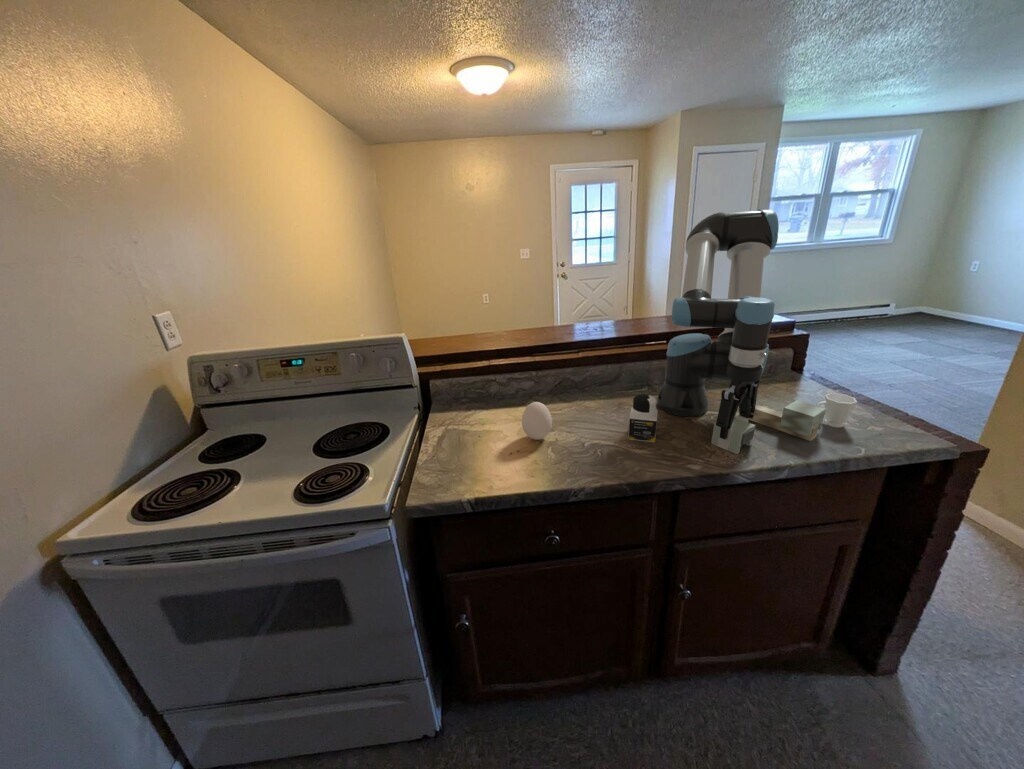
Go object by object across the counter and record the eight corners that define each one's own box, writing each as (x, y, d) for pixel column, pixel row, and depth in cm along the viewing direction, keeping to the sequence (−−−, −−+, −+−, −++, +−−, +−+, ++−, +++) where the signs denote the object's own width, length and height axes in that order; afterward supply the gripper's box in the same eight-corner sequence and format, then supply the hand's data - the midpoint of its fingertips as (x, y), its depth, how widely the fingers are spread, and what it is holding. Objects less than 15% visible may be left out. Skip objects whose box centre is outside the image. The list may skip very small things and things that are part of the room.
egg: (518, 443, 113) (516, 407, 109) (528, 429, 121) (526, 395, 116) (547, 447, 110) (546, 411, 106) (555, 432, 118) (555, 397, 113)
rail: (735, 418, 119) (739, 393, 116) (747, 411, 122) (752, 387, 119) (807, 443, 104) (814, 416, 101) (818, 435, 107) (826, 408, 104)
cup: (856, 429, 109) (864, 403, 106) (817, 430, 110) (824, 404, 106) (837, 417, 115) (845, 392, 112) (802, 418, 116) (808, 393, 113)
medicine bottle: (628, 439, 112) (630, 401, 107) (630, 427, 118) (632, 390, 113) (655, 443, 109) (658, 403, 104) (655, 430, 115) (659, 393, 111)
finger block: (711, 443, 107) (714, 423, 105) (725, 434, 111) (728, 415, 108) (738, 454, 101) (742, 434, 99) (753, 445, 105) (757, 425, 103)
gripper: (738, 377, 89) (724, 462, 98) (782, 356, 99) (764, 436, 108) (707, 368, 95) (696, 449, 104) (751, 350, 105) (737, 426, 114)
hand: (731, 442), depth 106 cm, fingers closed on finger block, 7 cm apart
